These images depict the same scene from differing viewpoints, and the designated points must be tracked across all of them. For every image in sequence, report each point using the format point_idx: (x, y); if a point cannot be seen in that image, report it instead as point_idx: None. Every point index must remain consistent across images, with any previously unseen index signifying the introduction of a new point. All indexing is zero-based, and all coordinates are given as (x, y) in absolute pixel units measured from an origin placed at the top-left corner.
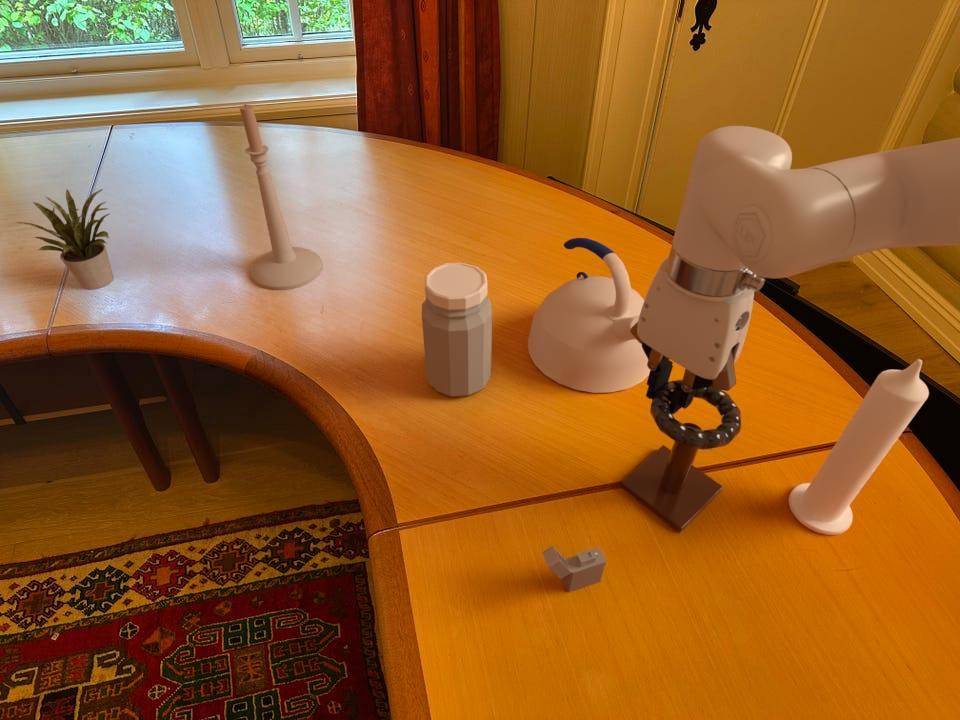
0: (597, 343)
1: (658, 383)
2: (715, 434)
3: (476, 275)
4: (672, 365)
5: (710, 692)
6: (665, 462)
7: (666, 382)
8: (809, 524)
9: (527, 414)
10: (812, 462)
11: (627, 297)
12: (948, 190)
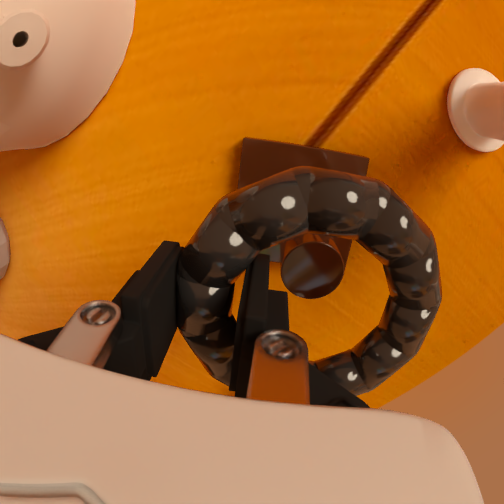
0: (10, 104)
1: (167, 337)
2: (389, 372)
3: None
4: (148, 306)
5: (412, 378)
6: (267, 173)
7: (175, 266)
8: (480, 150)
9: (60, 226)
10: (446, 23)
11: None
12: None
